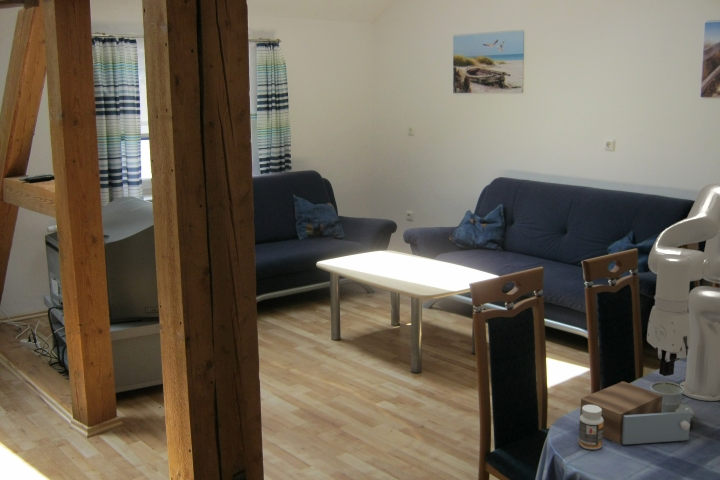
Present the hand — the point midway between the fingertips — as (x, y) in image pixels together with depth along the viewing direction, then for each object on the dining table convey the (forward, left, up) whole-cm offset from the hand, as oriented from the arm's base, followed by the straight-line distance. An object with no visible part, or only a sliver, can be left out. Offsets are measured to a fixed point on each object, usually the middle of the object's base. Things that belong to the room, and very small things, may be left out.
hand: (666, 374), depth 186 cm
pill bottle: (+18, -8, -17) cm, 26 cm away
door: (+5, +2, -16) cm, 17 cm away
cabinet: (+3, -10, -17) cm, 20 cm away
